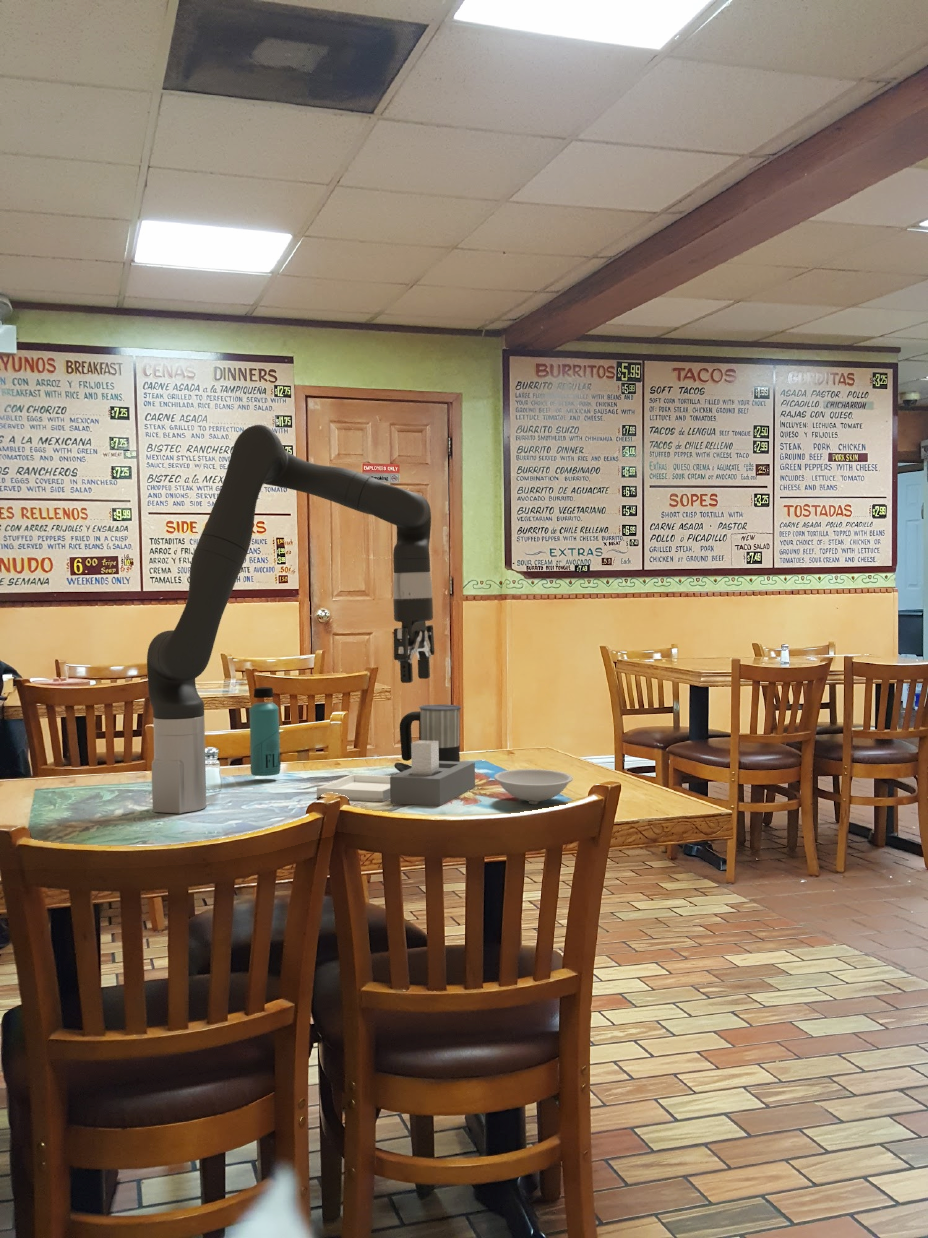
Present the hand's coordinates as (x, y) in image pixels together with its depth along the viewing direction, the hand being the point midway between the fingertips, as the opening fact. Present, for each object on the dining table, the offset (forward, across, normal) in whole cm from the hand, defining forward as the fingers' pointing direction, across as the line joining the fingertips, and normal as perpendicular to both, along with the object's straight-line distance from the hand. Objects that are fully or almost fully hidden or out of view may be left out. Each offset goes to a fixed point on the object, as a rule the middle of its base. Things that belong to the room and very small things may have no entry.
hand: (415, 680), depth 206 cm
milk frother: (+23, +23, +8) cm, 34 cm away
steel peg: (+23, -1, -2) cm, 23 cm away
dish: (+23, +1, -23) cm, 32 cm away
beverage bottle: (+23, +9, +39) cm, 46 cm away
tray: (+23, +2, +12) cm, 26 cm away
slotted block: (+23, +3, -2) cm, 23 cm away
